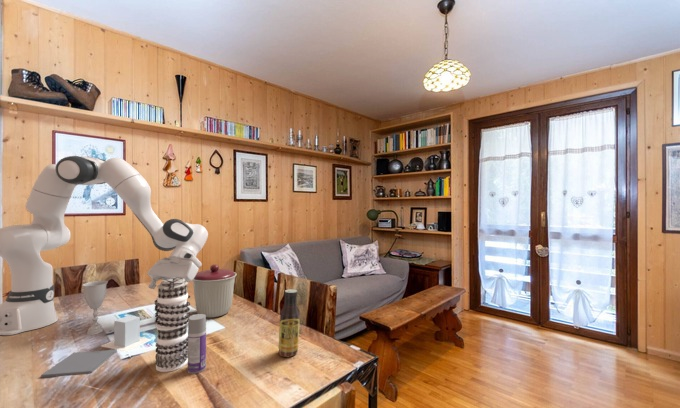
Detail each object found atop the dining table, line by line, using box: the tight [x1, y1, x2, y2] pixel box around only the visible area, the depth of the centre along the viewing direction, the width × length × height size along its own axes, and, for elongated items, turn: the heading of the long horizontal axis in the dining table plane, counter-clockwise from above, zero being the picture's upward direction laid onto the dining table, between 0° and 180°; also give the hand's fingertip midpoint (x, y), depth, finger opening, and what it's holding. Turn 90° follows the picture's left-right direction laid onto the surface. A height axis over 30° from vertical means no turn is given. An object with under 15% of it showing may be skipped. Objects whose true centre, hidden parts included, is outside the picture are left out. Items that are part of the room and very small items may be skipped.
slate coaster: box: [40, 349, 118, 379], centre depth 86 cm, size 12×12×1 cm
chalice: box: [82, 280, 109, 336], centre depth 107 cm, size 7×7×18 cm
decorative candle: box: [154, 277, 191, 373], centre depth 86 cm, size 9×9×25 cm
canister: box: [192, 264, 237, 319], centre depth 126 cm, size 18×18×21 cm
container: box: [187, 313, 207, 375], centre depth 83 cm, size 5×5×15 cm
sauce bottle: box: [278, 288, 300, 358], centre depth 93 cm, size 7×6×20 cm
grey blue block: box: [113, 315, 141, 347], centre depth 98 cm, size 5×5×8 cm
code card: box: [101, 336, 153, 353], centre depth 98 cm, size 12×9×1 cm
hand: (160, 289), depth 110 cm, fingers open, 8 cm apart
